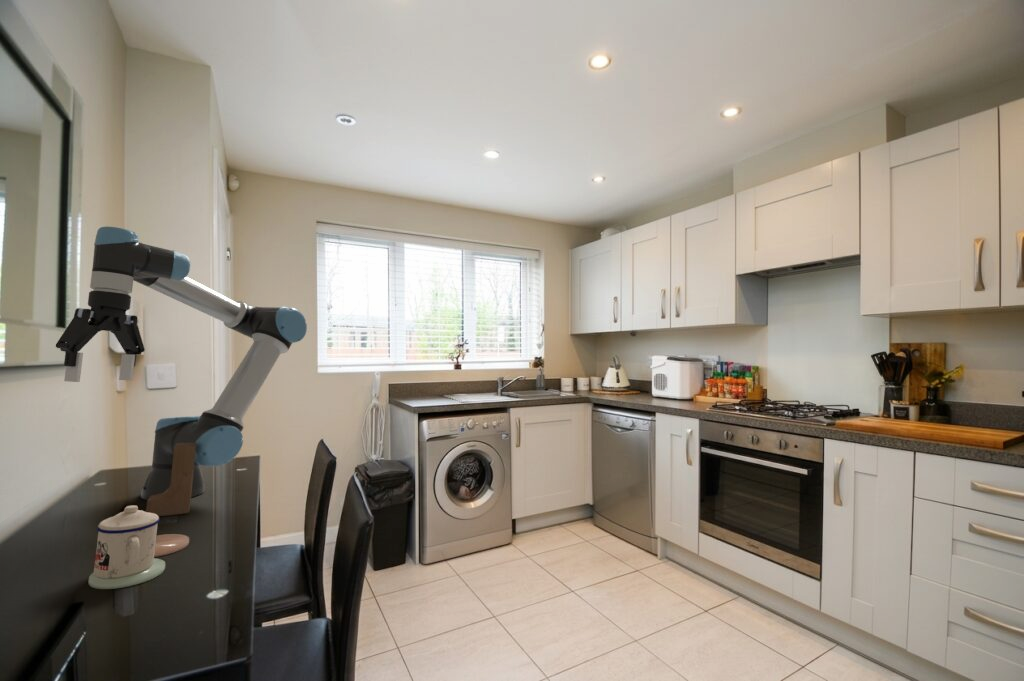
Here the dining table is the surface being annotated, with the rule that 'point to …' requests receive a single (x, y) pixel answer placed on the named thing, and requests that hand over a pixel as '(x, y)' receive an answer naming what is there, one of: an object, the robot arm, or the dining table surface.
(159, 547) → the pink coaster
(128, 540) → the teacup with lid
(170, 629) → the dining table surface
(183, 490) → the wooden block
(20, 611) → the dining table surface
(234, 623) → the dining table surface
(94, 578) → the sage coaster
